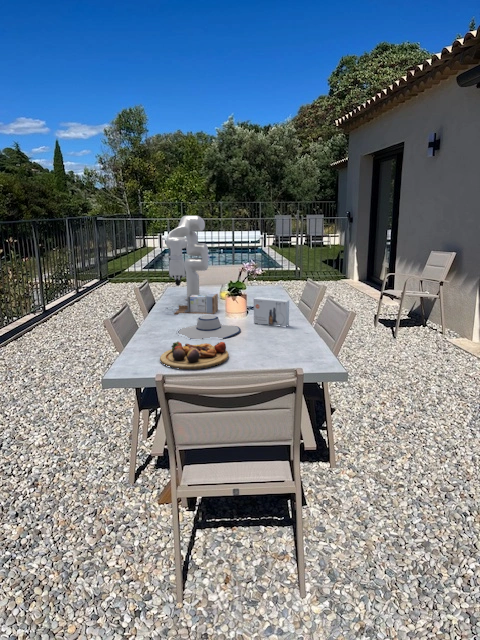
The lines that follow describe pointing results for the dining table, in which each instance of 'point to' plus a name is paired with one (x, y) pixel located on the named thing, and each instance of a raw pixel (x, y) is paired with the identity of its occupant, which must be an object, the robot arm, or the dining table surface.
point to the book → (209, 303)
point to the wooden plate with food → (194, 355)
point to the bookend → (188, 304)
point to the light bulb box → (198, 303)
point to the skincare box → (271, 311)
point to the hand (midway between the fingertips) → (178, 285)
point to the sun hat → (209, 329)
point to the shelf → (214, 309)
